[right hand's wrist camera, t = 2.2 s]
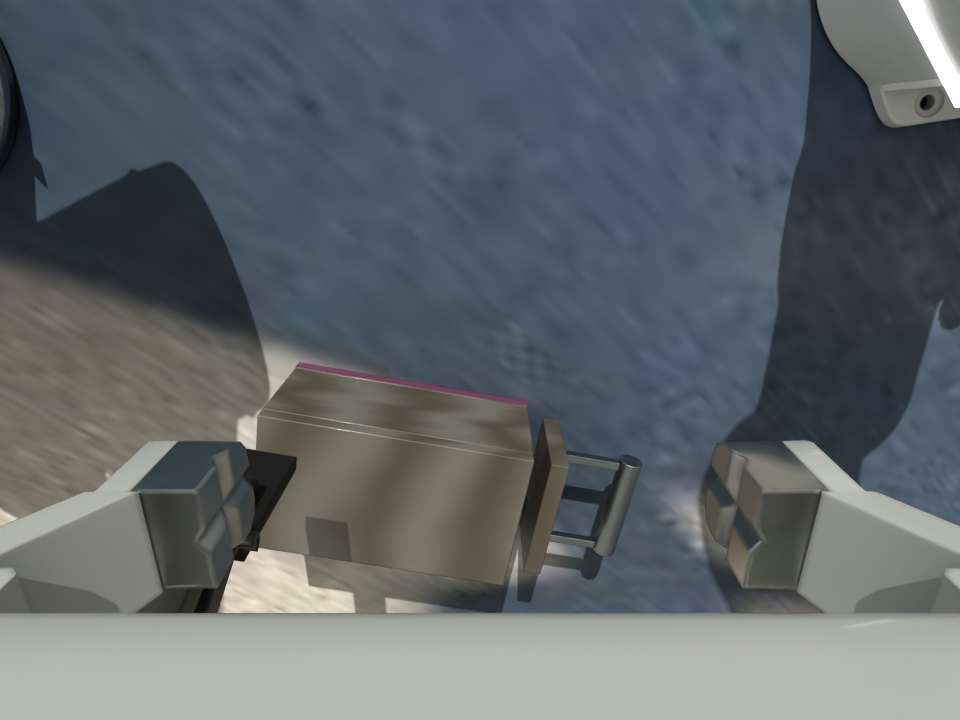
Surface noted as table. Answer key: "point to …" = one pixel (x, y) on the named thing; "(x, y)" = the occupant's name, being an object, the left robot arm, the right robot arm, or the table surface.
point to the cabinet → (397, 473)
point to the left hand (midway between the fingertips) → (263, 568)
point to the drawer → (548, 494)
